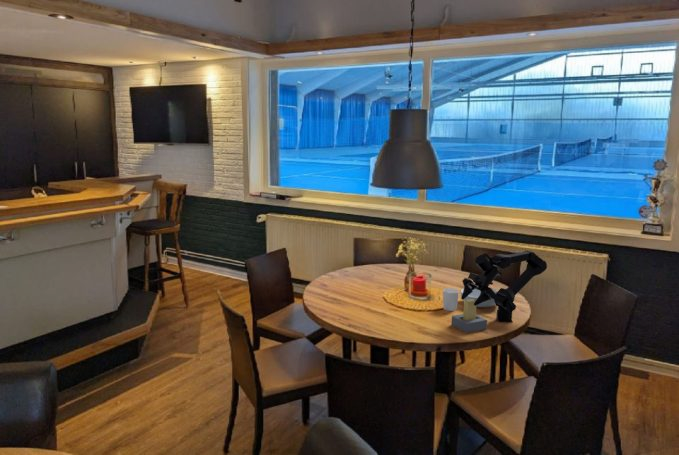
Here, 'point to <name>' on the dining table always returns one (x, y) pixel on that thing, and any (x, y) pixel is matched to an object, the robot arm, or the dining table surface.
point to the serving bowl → (475, 295)
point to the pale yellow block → (469, 310)
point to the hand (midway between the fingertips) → (467, 302)
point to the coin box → (469, 323)
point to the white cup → (450, 299)
